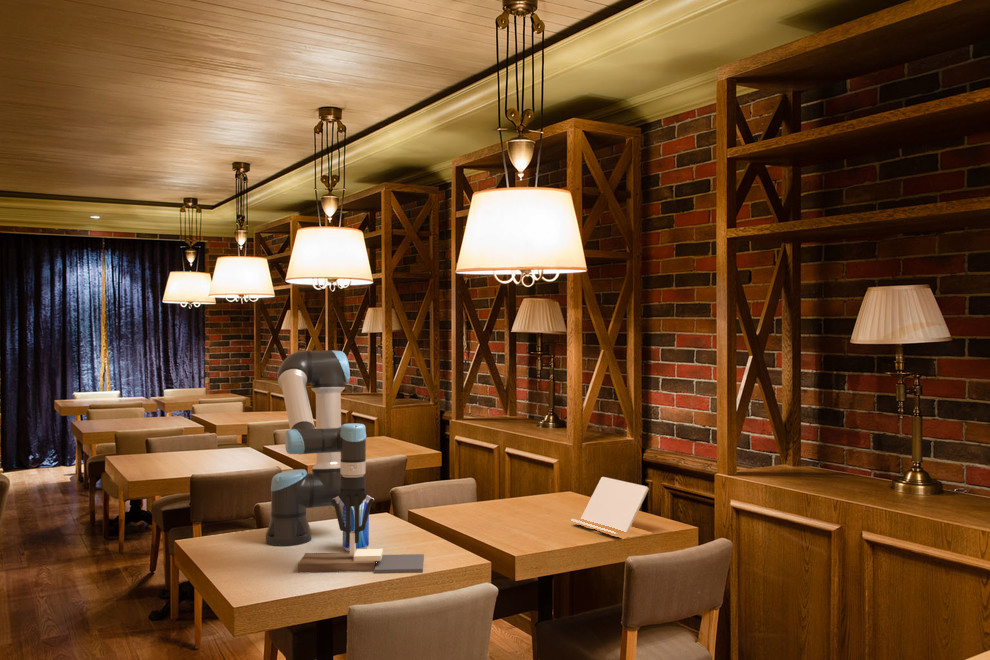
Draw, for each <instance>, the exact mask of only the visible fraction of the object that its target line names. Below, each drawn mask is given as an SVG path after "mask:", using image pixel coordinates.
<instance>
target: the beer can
mask: <svg viewBox="0 0 990 660" xmlns="http://www.w3.org/2000/svg"><path fill="white" fill-rule="evenodd" d="M366 506H367V503H366V498H365V499H364V501H363V502H362V504H361V505H360V526H361V525H362V521H363V517H364V513H365V509H366ZM342 516H343V520H344V525H345V526H346V506H345V505H342ZM351 531H355V509H354V506H351ZM369 545H370V514H369V515H368V519H367V523H366V527H365V529H364V530H363V531H360V532H359V542H358V543H356V550H357V549H368V548H369ZM342 547H343V549H344V550H346V551H345V552H348V551H350V543H346V532H344V531H342Z"/></svg>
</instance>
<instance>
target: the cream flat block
mask: <svg viewBox="0 0 990 660" xmlns="http://www.w3.org/2000/svg"><path fill="white" fill-rule="evenodd" d="M382 555H384V548H367V549H357V550H356V552H355V554H354V561H381V559H382Z"/></svg>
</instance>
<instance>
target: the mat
mask: <svg viewBox="0 0 990 660" xmlns="http://www.w3.org/2000/svg"><path fill="white" fill-rule="evenodd" d="M424 557H425V554H423V553H417V554H416V553H414V554H413V553H412V554H410V553H409V554H404V553H403V554H383V555H382V559H381V561H377V563H376V566H375V569H374V571H373V572H374V574H398V573H399V574H401V573H402V574H405V573H407V574H408V573H409V574H411V573H423V572H424V571H423V570H424V560H425V559H424Z"/></svg>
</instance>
